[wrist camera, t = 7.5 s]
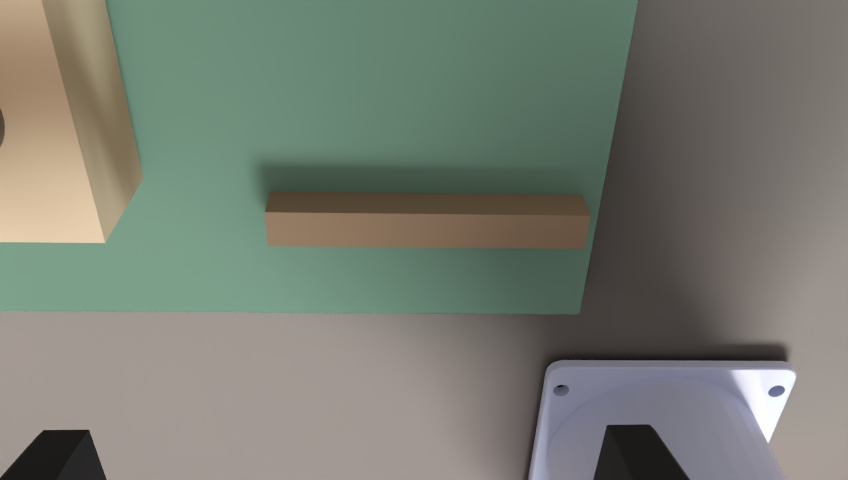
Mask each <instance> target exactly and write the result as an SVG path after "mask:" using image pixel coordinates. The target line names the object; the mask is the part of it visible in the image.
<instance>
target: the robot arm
mask: <svg viewBox="0 0 848 480" xmlns="http://www.w3.org/2000/svg"><path fill="white" fill-rule="evenodd" d="M795 380H796V372H795V371H794V369H793V367H792V366H791V364H789V363H788V362H784V361H666V360H560V361H556V362H554V363H552V364H551V365H549V366H548V368H547V370H546V373H545V379H544V386H543V392H542V398H541V404H540V410H539V416H538V422H537V428H536V434H535V441H534V447H533V453H532V459H531V465H530V471H529V477H528V480H787V479H786V477H785V475H784V473H783V471H782V469H781V467H780V465H779V463H778V461H777V459H776V457H775V456H774V454H773V452H772V450H771V448H770V446H769V444H768V443H769V441H770V438H771V436H772V434H773V431H774V429H775V427H776V424H777V422H778V420H779V417H780V415H781V413H782V410H783V408H784V406H785V403H786V401H787V399H788V396H789V394H790V392H791V389H792V387H793V385H794V382H795ZM558 385H564V386H563V387H559V388H557V387H556V386H558ZM774 386H775V387H774ZM772 387H773V388H772ZM0 480H106V477H105V474H104V471H103V469H102V466H101V463H100V460H99V457H98V454H97V451H96V449H95V446H94V443H93V440H92V437H91V434H90V432H89V430H44V431H43V432H41V433H40V434H39V435H38V436H37V437H36V438H35V439H34V441H33V442H32V443H31V444H30V445H29V446H28V447H27V448H26V449H25V451H24V452H23V453H22V454H21V455H20V456H19V457H18V458H17V460H16V461H15V462H14V463H13V464H12V465H11V466H10V467H9V469H8V470H7V471H6V472H5V473H4V474H3V475H2V476H1V478H0Z"/></svg>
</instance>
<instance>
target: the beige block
mask: <svg viewBox="0 0 848 480" xmlns="http://www.w3.org/2000/svg"><path fill="white" fill-rule="evenodd" d="M142 180H143V175H142V170H141V165H140V161H139V156H138V152H137V147H136V142H135V138H134V133H133V128H132V124H131V119H130V114H129V110H128V105H127V100H126V96H125V91H124V86H123V82H122V77H121V72H120V68H119V63H118V58H117V54H116V49H115V44H114V40H113V35H112V30H111V26H110V21H109V16H108V12H107V7H106V2H105V0H0V242H43V243H106V241H107V239H108V237H109V236H110V234H111V232H112V231H113V229H114V227H115V226H116V224H117V222H118V221H119V219H120V217H121V215H122V214H123V212H124V210H125V209H126V207H127V205H128V204H129V202H130V200H131V199H132V197H133V195H134V194H135V192H136V190H137V188H138V187H139V185H140V183H141V182H142Z"/></svg>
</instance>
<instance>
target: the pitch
mask: <svg viewBox="0 0 848 480" xmlns="http://www.w3.org/2000/svg"><path fill="white" fill-rule="evenodd" d="M105 2H106V7H107V12H108V16H109V21H110V26H111V30H112V35H113V40H114V44H115V49H116V54H117V58H118V63H119V68H120V72H121V77H122V82H123V86H124V91H125V96H126V100H127V105H128V110H129V114H130V119H131V124H132V128H133V133H134V138H135V142H136V147H137V152H138V156H139V161H140V165H141V170H142V175H143V180H142V182H141V183H140V185H139V187H138V188H137V190H136V192H135V194H134V195H133V197H132V199H131V200H130V202H129V204H128V205H127V207H126V209H125V210H124V212H123V214H122V215H121V217H120V219H119V221H118V222H117V224H116V226H115V227H114V229H113V231H112V232H111V234H110V236H109V237H108V239H107V241H106V243H43V242H0V311H97V312H257V313H418V314H580V309H581V304H582V298H583V293H584V288H585V282H586V277H587V272H588V266H589V261H590V256H591V250H592V245H593V240H594V234H595V229H596V224H597V218H598V213H599V208H600V202H601V197H602V192H603V186H604V181H605V176H606V171H607V165H608V160H609V155H610V149H611V144H612V139H613V133H614V128H615V123H616V117H617V112H618V107H619V101H620V96H621V91H622V85H623V80H624V75H625V69H626V64H627V59H628V53H629V48H630V43H631V37H632V32H633V27H634V21H635V16H636V11H637V5H638V0H105Z"/></svg>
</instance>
